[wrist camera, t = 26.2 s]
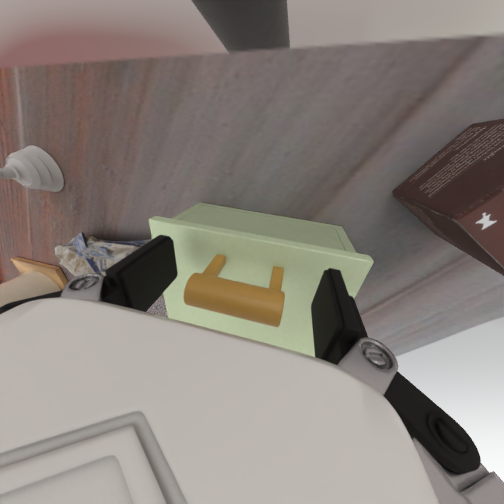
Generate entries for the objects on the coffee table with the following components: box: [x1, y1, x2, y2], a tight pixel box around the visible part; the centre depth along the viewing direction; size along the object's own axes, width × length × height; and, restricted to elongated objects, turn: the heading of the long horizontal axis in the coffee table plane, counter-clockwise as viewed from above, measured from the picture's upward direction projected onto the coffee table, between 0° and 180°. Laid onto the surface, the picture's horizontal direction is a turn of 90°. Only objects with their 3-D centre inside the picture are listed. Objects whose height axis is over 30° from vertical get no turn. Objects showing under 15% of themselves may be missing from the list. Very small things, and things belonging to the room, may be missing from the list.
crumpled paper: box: [54, 232, 152, 277], centre depth 24 cm, size 15×8×4 cm, turn 86°
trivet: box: [11, 257, 68, 290], centre depth 33 cm, size 9×9×1 cm
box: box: [392, 119, 504, 275], centre depth 11 cm, size 6×6×7 cm
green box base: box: [171, 203, 357, 253], centre depth 19 cm, size 15×15×7 cm
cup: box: [0, 270, 61, 307], centre depth 29 cm, size 7×7×8 cm
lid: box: [149, 216, 373, 357], centre depth 14 cm, size 15×15×5 cm
